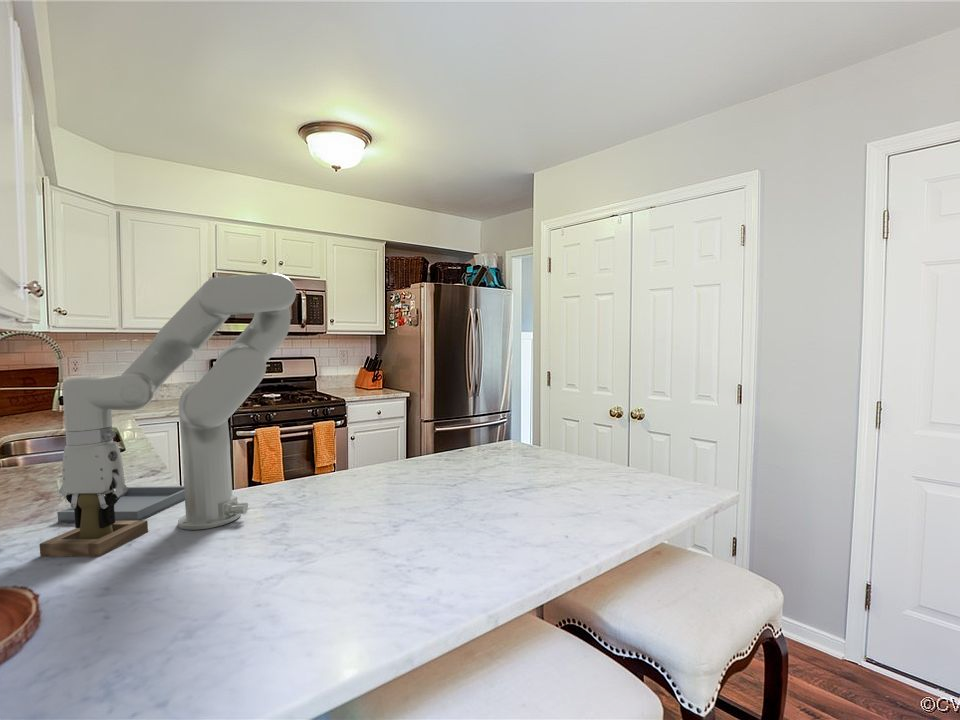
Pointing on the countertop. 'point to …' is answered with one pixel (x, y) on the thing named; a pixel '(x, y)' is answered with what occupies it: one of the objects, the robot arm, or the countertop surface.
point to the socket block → (93, 540)
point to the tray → (137, 503)
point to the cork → (91, 517)
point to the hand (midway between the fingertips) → (95, 524)
